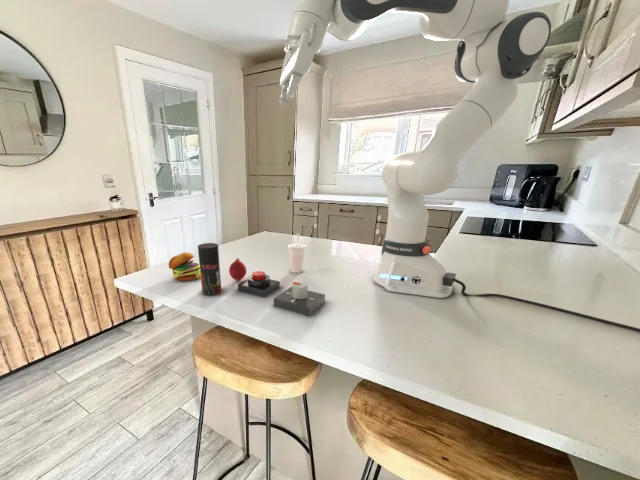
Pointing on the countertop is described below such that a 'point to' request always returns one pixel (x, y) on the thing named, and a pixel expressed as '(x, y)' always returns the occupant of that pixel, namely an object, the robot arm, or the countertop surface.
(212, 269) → the deodorant
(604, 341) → the countertop surface
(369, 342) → the countertop surface
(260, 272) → the button
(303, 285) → the hob knob
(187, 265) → the cheeseburger
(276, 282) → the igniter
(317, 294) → the hob panel
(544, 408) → the countertop surface
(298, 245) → the smoothie
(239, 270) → the onion
